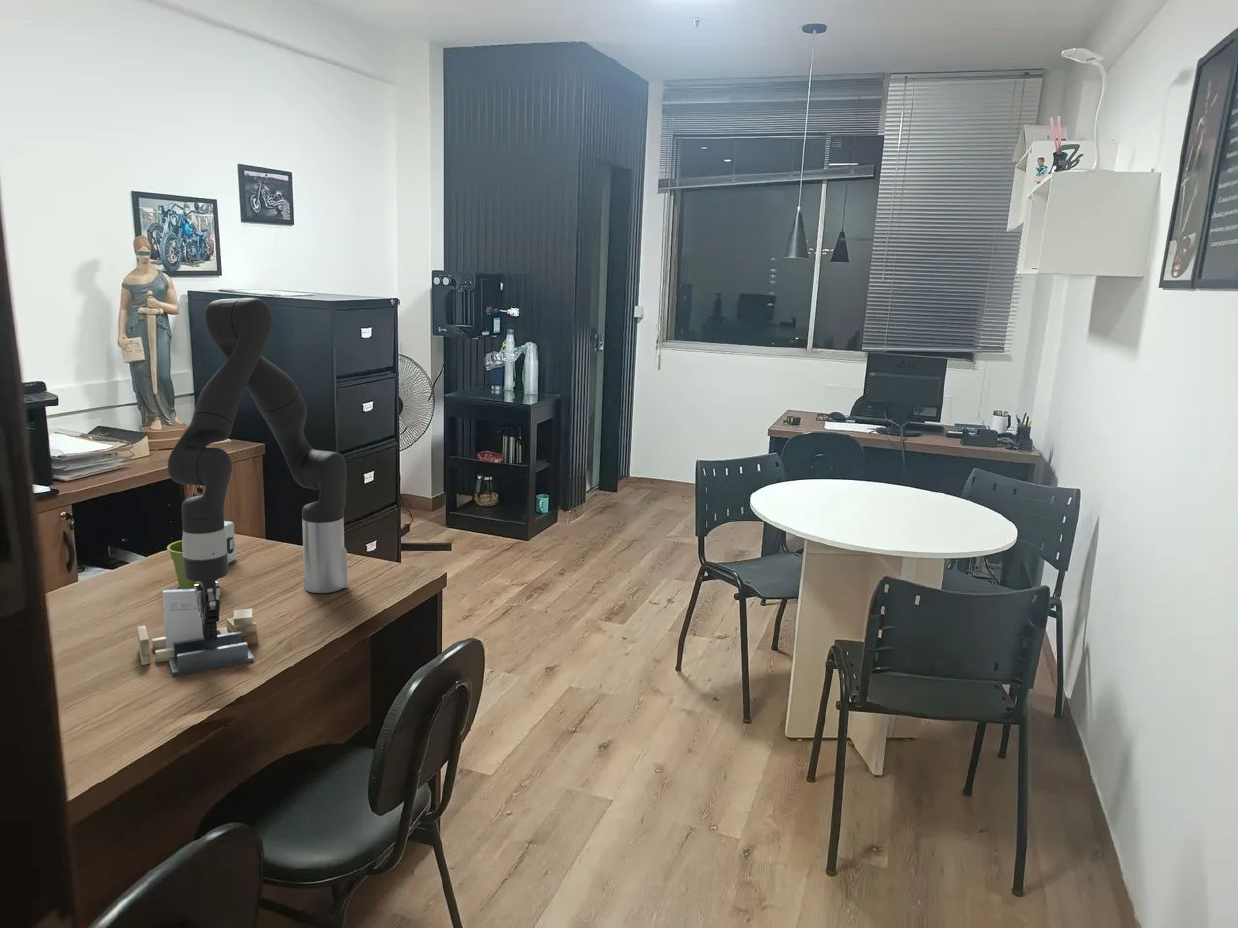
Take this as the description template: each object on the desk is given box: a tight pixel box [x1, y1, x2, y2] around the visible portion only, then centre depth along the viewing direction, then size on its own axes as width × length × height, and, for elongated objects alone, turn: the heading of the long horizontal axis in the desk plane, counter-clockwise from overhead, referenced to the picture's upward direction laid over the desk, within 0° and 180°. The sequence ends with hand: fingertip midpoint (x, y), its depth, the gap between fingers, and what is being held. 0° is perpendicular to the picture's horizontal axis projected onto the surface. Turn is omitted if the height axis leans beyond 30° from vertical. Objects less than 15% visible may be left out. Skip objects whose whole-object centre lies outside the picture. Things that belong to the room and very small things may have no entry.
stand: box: [168, 631, 255, 677], centre depth 164 cm, size 14×7×4 cm, turn 123°
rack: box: [136, 625, 228, 666], centre depth 168 cm, size 16×7×5 cm, turn 123°
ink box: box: [224, 520, 236, 564], centre depth 215 cm, size 9×5×12 cm, turn 81°
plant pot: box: [166, 539, 217, 589], centre depth 199 cm, size 12×12×11 cm
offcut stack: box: [226, 607, 259, 647], centre depth 174 cm, size 5×7×6 cm
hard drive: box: [162, 588, 203, 649], centre depth 168 cm, size 2×8×12 cm, turn 104°
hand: (210, 638), depth 163 cm, fingers closed
